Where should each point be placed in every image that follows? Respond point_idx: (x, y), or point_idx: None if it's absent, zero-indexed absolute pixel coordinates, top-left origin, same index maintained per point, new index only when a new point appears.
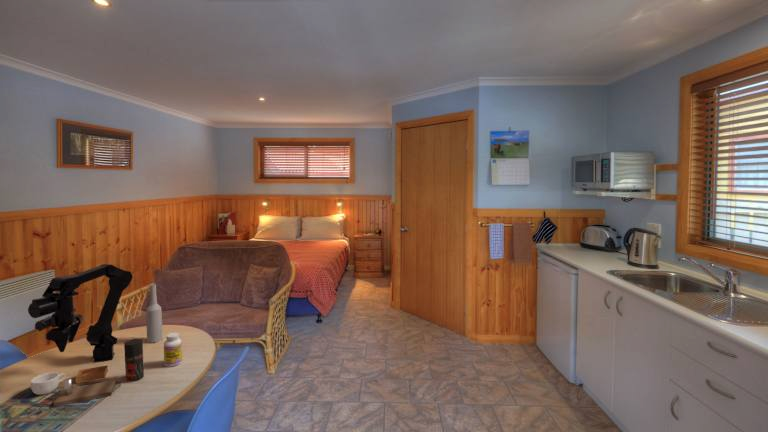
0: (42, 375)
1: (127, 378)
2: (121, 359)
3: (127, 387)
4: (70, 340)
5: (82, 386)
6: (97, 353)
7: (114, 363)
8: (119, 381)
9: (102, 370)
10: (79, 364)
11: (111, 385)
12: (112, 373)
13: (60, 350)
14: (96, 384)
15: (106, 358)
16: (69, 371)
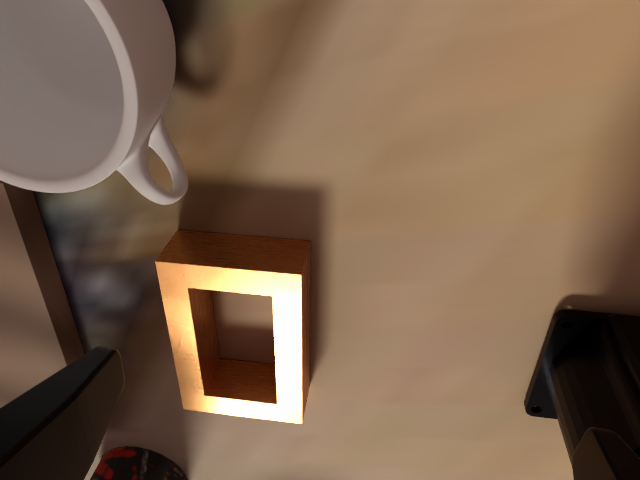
0: (96, 11)
1: (96, 471)
2: (484, 445)
3: None
4: (595, 476)
5: (35, 297)
6: (599, 390)
7: (433, 413)
8: (125, 425)
9: (217, 400)
10: (616, 207)
11: None
12: None
13: (67, 379)
14: (48, 361)
15: (547, 391)
16: (480, 147)
